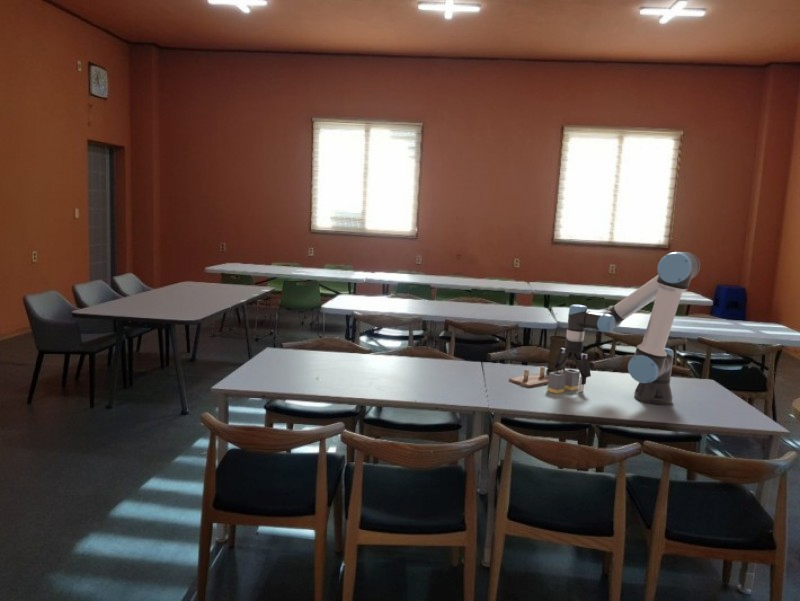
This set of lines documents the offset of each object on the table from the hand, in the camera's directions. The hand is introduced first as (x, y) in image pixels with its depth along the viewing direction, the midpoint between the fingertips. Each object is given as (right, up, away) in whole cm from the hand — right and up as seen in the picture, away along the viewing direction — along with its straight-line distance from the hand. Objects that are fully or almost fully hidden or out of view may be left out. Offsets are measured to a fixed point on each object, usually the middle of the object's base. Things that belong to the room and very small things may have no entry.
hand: (570, 387), depth 266 cm
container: (0, +3, +25) cm, 25 cm away
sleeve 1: (-8, -1, -6) cm, 10 cm away
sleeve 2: (0, 0, 0) cm, 0 cm away
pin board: (-15, +2, +8) cm, 17 cm away
